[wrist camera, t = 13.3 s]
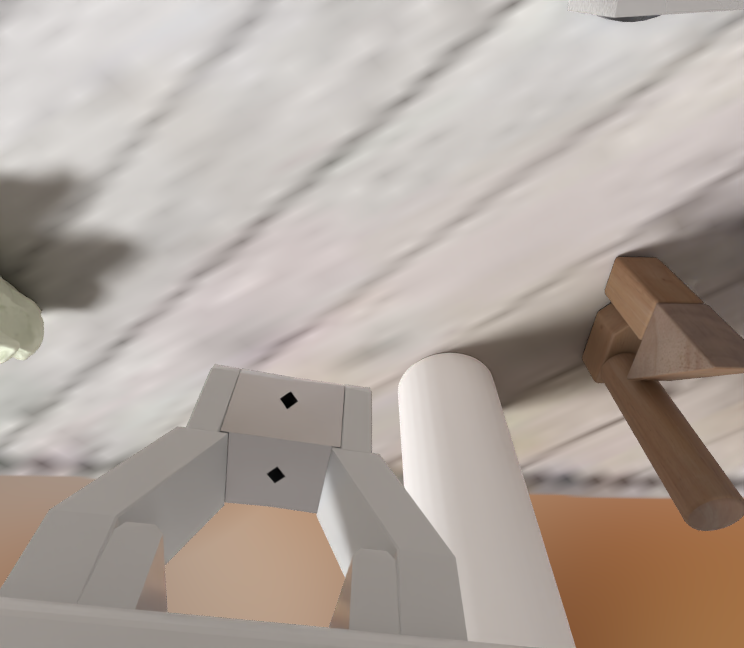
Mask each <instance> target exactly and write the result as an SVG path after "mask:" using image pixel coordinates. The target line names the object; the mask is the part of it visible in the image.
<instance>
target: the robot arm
mask: <svg viewBox="0 0 744 648" xmlns="http://www.w3.org/2000/svg"><path fill="white" fill-rule="evenodd" d="M224 502H228V503H239V504H249V505H260V506H270V507H277V508H284V509H291V510H297V511H304V512H311V513H317V517H318V520H319V522H320V524H321V526H322V528H323V531H324V533H325V535H326V537H327V539H328V541H329V544H330V546H331V548H332V550H333V552H334V554H335V557H336V559H337V561H338V563H339V565H340V568H341V569H342V572H343V574H344V576H345V581H344V584H343V586H342V589H341V593H340V595H339V598H338V602H337V605H336V608H335V611H334V614H333V617H332V620H331V623H330V626H329V628H327V627H316V626H306V625H296V624H285V623H275V622H264V621H253V620H243V619H231V618H222V617H211V616H200V615H189V614H179V613H168V612H167V596H166V579H165V565H166V564H167V563H168V562H169V561H170V560H171V559H172V558H173V557H174V556H175V555H176V554H177V553H178V551H180V549H182V547H184V546H185V544H186V543H187V542H188V541H189V540H190V539H191V538H192V537H193V536H194V535H195V534H196V533H197V532H198V531H199V530H200V529H201V528H202V527H203V526H204V525H205V524H206V523H207V522H208V521H209V520H210V519H211V518H212V517H213V516H214V515H215V514H216V513H217V512H218V511H219V510H220V509H221V508H222V507H223V506H224ZM0 648H536V647H526V646H515V645H505V644H494V643H484V642H473V641H468V638H467V631H466V625H465V618H464V611H463V604H462V597H461V590H460V583H459V577H458V570H457V563H456V557H455V556H454V554H453V553H452V552H451V550H450V549H449V548H448V546H447V545H446V544H445V542H444V541H443V540H442V538H441V537H440V535H439V534H438V533H437V531H436V530H435V529H434V527H433V526H432V525H431V523H430V522H429V520H428V519H427V518H426V516H425V515H424V514H423V512H422V511H421V510H420V508H419V507H418V506H417V504H416V503H415V501H414V500H413V499H412V497H411V496H410V495H409V493H408V492H407V491H406V489H405V488H404V486H403V485H402V484H401V482H400V481H399V480H398V478H397V477H396V476H395V474H394V473H393V472H392V470H391V469H390V467H389V466H388V465H387V463H386V462H385V461H384V459H383V458H382V457H381V455H380V454H375V453H372V391H371V389H370V388H368V387H360V386H353V385H345V386H344V385H342V384H336V383H329V382H322V381H315V380H308V379H301V378H294V377H288V376H282V375H277V374H271V373H265V372H260V371H254V370H248V369H243V368H242V369H239V368H234V367H228V366H223V365H217V364H215V365H214V366H213V367H212V368H211V369H210V372H209V374H208V376H207V379H206V381H205V384H204V386H203V388H202V391H201V393H200V395H199V398H198V400H197V403H196V405H195V407H194V410H193V412H192V414H191V417H190V419H189V421H188V424H187V426H186V427H178V426H177V427H176V428H174V429H173V430H171V431H170V432H168V433H167V434H165V435H163V436H162V437H160V438H159V439H157V440H156V441H154V442H153V443H151V444H150V445H148V446H147V447H145V448H144V449H142V450H140V451H139V452H137V453H136V454H134V455H133V456H131V457H130V458H128V459H127V460H125V461H124V462H122V463H120V464H119V465H117V466H116V467H114V468H113V469H111V470H110V471H108V472H107V473H105V474H104V475H102V476H100V477H99V478H97V479H96V480H94V481H93V482H91V483H90V484H88V485H87V486H85V487H84V488H82V489H81V490H79V491H77V492H76V493H74V494H73V495H71V496H70V497H68V498H67V499H65V500H64V501H62V502H61V503H59V504H58V505H56V506H54V507H53V508H51V509H50V510H49V511H48V513H47V515H46V516H45V518H44V519H43V521H42V523H41V524H40V526H39V527H38V529H37V531H36V532H35V534H34V535H33V537H32V539H31V541H30V542H29V544H28V545H27V547H26V549H25V550H24V552H23V553H22V555H21V557H20V558H19V560H18V561H17V563H16V564H15V566H14V568H13V569H12V571H11V573H10V574H9V576H8V577H7V579H6V581H5V582H4V584H3V585H2V587H1V589H0Z"/></svg>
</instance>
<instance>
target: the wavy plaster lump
mask: <svg viewBox="0 0 744 648" xmlns="http://www.w3.org/2000/svg"><path fill="white" fill-rule="evenodd" d="M43 336H44V322H43V319H42V317H41V310H40V309H39V307H38V306H37V304H36V303H35V302H33V301H32V300H31V299H29V298H27V297H26V296H24V295H23V294H21V293H20V292H18V291H17V290H16V288H15V287H14V286H12V285H11V284H10V283H8V282H7V281H5V280H3V279H2V277H1V276H0V364H1V363H4V362H6V361H8V360H9V359H10V358H12V357H14V358H16V359H19V360H26V359H27V358H28V357H30V356H31V355H33V354H34V353H35V352H36V350H37V349H38V348H39V347H40V345H41V343H42V340H43Z"/></svg>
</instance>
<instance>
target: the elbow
mask: <svg viewBox="0 0 744 648" xmlns="http://www.w3.org/2000/svg"><path fill="white" fill-rule="evenodd" d="M743 9H744V0H569V1H568V8H567V11H571V12H578V13H585V14H592V15H599V16H606V17H613V18H617V17H633V16H648V15H664V14H680V13H696V12H711V11H727V10H743Z"/></svg>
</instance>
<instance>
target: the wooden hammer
mask: <svg viewBox="0 0 744 648" xmlns="http://www.w3.org/2000/svg"><path fill="white" fill-rule="evenodd" d="M605 294H606V296H607V297H608V298H609V300H610V301H611V302H612V303H611V304H609V305H607V306H606V307H604V308H603V309H601V310H600V311H598V313H597V315H596V318H595V321H594V324H593V327H592V330H591V333H590V336H589V339H588V342H587V345H586V348H585V350H584V353H583V356H582V360H583V362H584V364H585V365H586V367H587V369H588V371H589V372H590V374H591V376H592V378H593V380H594V381H595V382H596V383H605V385H606V387H607V388H608V390H609V392H610V394H611V395H612V397H613V399H614V400H615V402H616V404H617V406H618V407H619V409H620V411H621V412H622V414H623V416H624V418H625V419H626V421H627V423H628V424H629V426H630V428H631V430H632V431H633V433H634V435H635V437H636V438H637V440H638V442H639V443H640V445H641V447H642V449H643V450H644V452H645V454H646V455H647V457H648V459H649V461H650V462H651V464H652V466H653V467H654V469H655V471H656V473H657V474H658V476H659V478H660V479H661V481H662V483H663V485H664V486H665V488H666V490H667V491H668V493H669V495H670V497H671V498H672V500H673V502H674V503H675V505H676V507H677V508H678V510H679V512H680V514H681V515H682V517H683V519H684V521H685V522H686V523H687V524H688V525H689V526H691V527H692V528H694V529H697V530H702V531H710V530H717V529H721V528H725V527H727V526H730V525H732V524H733V523H735V522H737V521H738V520H739V519H740V518H741V517H742V516H743V515H744V499H743V498H742V496H741V495H740V494H739V492H738V491H737V489H736V488H735V487H734V485H733V484H732V482H731V481H730V480H729V478H728V477H727V475H726V474H725V473H724V471H723V470H722V469H721V467H720V466H719V464H718V463H717V462H716V460H715V459H714V457H713V456H712V455H711V453H710V452H709V451H708V449H707V448H706V446H705V445H704V444H703V442H702V441H701V439H700V438H699V437H698V435H697V434H696V432H695V431H694V430H693V428H692V427H691V426H690V424H689V423H688V421H687V420H686V419H685V417H684V416H683V414H682V413H681V412H680V410H679V409H678V408H677V406H676V405H675V403H674V402H673V401H672V399H671V398H670V396H669V395H668V394H667V392H666V391H665V390H664V388H663V387H662V385H661V384H660V383H659V381H673V380H682V379H692V378H701V377H711V376H720V375H729V374H739V373H744V339H743V338H742V337H741V336H740V335H739V334H737V333H736V332H735V331H734V330H733V329H732V328H731V327H730V326H729V325H728V324H727V323H726V322H725V321H724V320H723V319H722V318H721V317H720V316H719V315H718V314H717V313H716V312H715V311H713V310H712V309H711V308H710V307H709V306H708V305H706V304H703V301H702V300H701V299H700V298H699V297H698V296H697V295H696V294H694V293H693V292H692V291H691V290H690V289H689V288H688V287H687V286H686V285H685V284H684V283H683V282H682V281H681V280H680V279H679V278H678V277H677V276H676V275H675V274H674V273H673V272H672V271H671V270H670V269H668V268H667V267H666V266H665V265H664V264H663V263H662V262H661V261H660V260H659V259H657V258H652V257H617V258H616V259H615V261H614V264H613V267H612V270H611V273H610V276H609V279H608V282H607V285H606V288H605Z"/></svg>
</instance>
